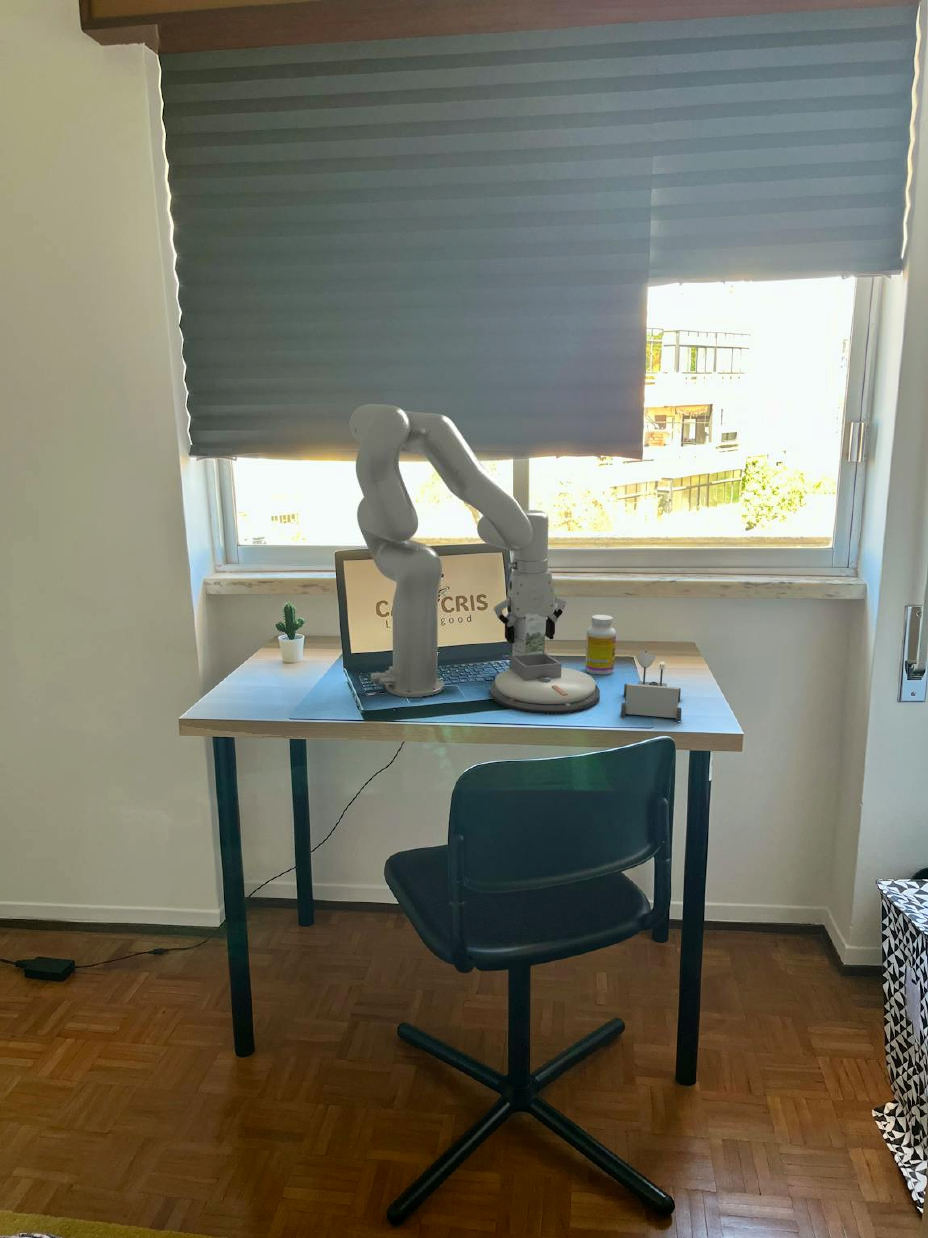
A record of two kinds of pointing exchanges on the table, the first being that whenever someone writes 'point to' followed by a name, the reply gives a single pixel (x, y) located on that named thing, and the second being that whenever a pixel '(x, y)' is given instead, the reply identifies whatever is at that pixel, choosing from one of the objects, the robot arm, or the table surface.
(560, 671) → the dial
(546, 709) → the base
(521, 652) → the syrup box
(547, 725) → the table surface
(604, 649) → the supplement bottle
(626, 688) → the toy vehicle
